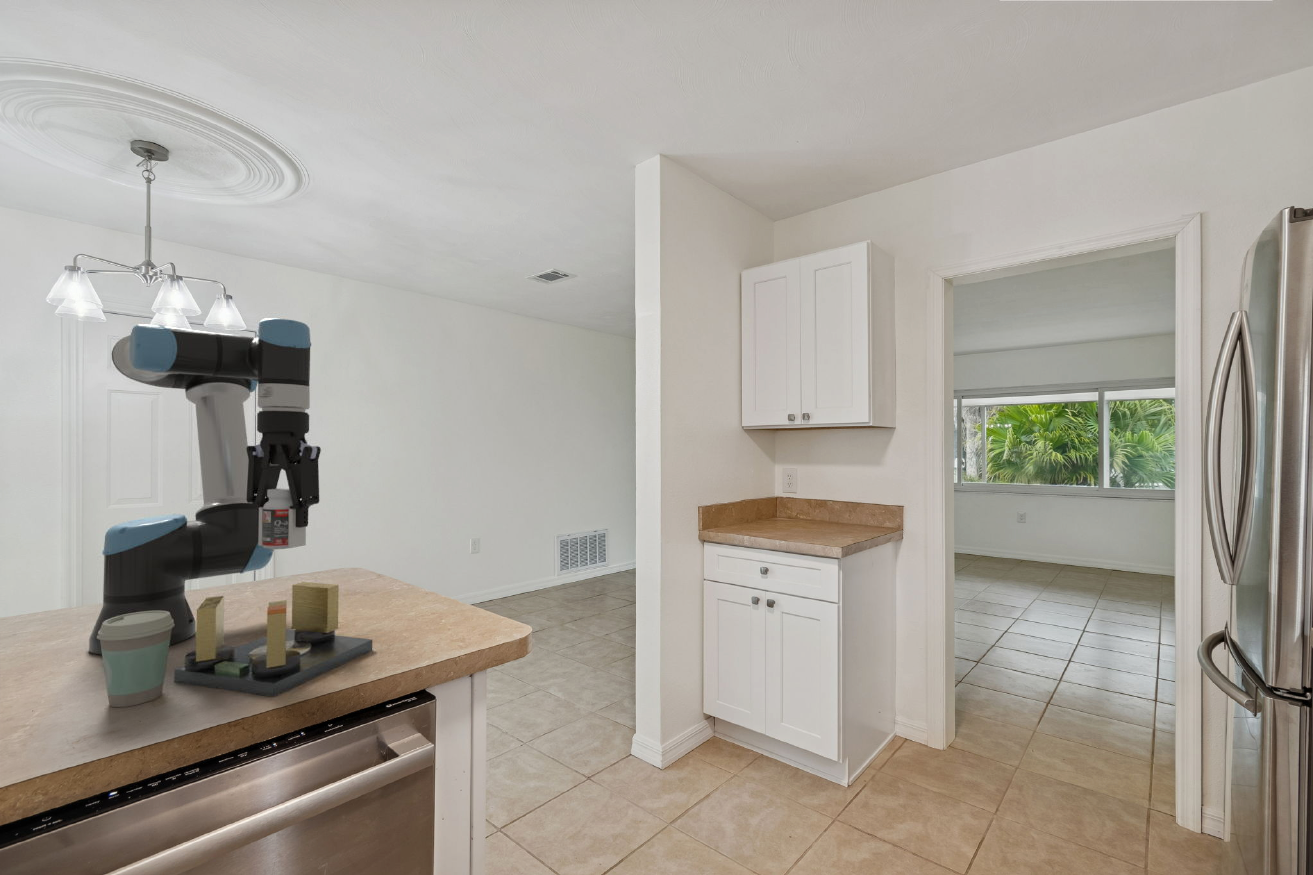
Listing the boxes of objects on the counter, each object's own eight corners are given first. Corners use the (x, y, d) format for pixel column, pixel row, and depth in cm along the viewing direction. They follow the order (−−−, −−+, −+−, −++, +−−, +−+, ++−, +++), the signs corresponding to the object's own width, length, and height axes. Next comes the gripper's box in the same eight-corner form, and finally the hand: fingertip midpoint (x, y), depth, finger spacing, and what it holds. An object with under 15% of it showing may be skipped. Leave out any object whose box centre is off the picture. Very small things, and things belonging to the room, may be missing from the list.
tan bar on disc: (253, 666, 92) (254, 600, 92) (300, 658, 96) (300, 594, 96) (250, 683, 85) (251, 612, 86) (300, 674, 89) (301, 606, 89)
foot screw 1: (190, 659, 95) (191, 599, 95) (237, 652, 98) (238, 594, 98) (179, 676, 88) (180, 611, 88) (230, 668, 91) (231, 606, 91)
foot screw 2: (281, 643, 103) (282, 587, 103) (312, 631, 109) (312, 579, 109) (317, 647, 100) (318, 590, 101) (346, 635, 107) (347, 582, 107)
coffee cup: (129, 687, 89) (130, 609, 89) (187, 685, 89) (188, 608, 90) (78, 713, 80) (79, 627, 80) (143, 711, 81) (144, 626, 81)
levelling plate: (174, 681, 91) (174, 661, 91) (285, 639, 110) (286, 623, 110) (273, 697, 86) (273, 675, 86) (372, 650, 105) (372, 632, 105)
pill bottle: (275, 551, 94) (276, 491, 94) (254, 548, 97) (255, 489, 97) (309, 545, 100) (310, 488, 100) (289, 542, 102) (289, 487, 102)
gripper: (220, 409, 97) (218, 546, 97) (309, 408, 92) (307, 552, 92) (261, 412, 104) (259, 538, 104) (345, 411, 99) (344, 544, 99)
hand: (282, 545), depth 98 cm, fingers closed on pill bottle, 6 cm apart
